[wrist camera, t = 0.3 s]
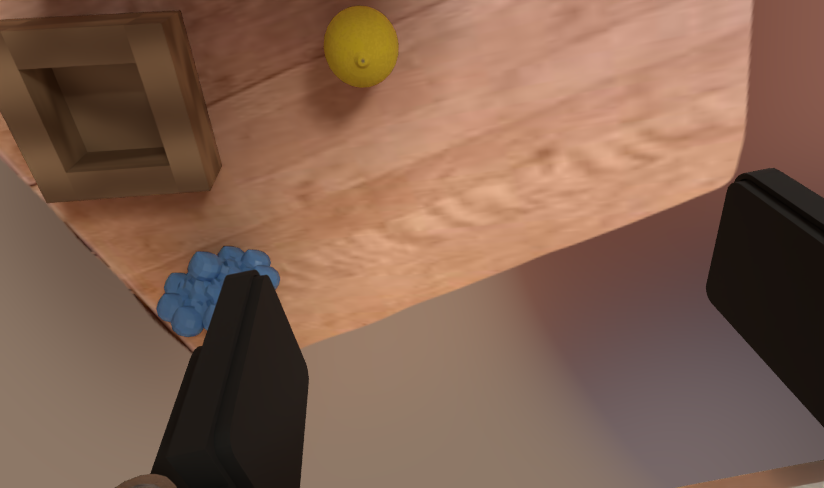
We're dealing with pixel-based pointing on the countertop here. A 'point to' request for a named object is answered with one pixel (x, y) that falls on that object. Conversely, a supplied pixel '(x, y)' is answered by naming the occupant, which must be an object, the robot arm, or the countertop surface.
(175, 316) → the grapes
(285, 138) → the countertop surface
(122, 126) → the shaker holder
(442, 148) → the countertop surface
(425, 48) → the countertop surface
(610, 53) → the countertop surface
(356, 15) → the lemon
